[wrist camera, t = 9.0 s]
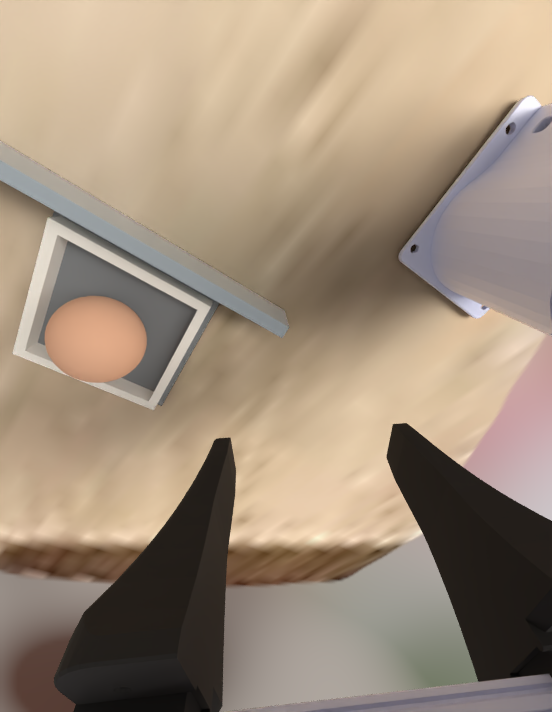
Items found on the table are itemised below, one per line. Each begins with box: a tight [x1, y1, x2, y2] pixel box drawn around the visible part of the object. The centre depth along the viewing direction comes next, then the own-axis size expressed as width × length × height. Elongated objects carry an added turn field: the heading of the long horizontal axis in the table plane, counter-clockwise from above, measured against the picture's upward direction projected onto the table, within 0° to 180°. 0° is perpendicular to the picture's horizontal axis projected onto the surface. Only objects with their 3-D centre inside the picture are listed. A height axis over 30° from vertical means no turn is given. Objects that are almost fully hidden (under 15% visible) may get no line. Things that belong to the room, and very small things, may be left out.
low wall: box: [0, 141, 289, 338], centre depth 16 cm, size 1×18×3 cm, turn 57°
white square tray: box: [12, 211, 219, 410], centre depth 18 cm, size 10×10×2 cm
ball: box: [45, 296, 147, 383], centre depth 17 cm, size 5×5×5 cm
